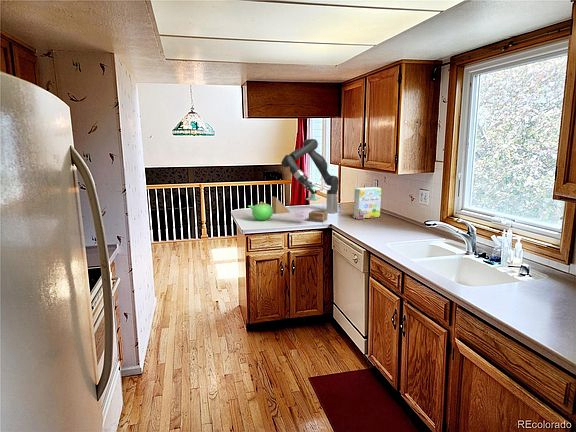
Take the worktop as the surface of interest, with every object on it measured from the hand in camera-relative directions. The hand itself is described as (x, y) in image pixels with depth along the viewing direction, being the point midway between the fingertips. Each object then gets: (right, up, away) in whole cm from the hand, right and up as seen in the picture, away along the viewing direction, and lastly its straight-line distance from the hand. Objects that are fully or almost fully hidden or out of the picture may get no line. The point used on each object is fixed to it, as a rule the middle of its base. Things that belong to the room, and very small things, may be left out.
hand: (315, 193), depth 305 cm
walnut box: (+4, -21, +21) cm, 30 cm away
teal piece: (-2, -5, +2) cm, 5 cm away
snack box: (+45, -20, +29) cm, 57 cm away
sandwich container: (-27, -14, +55) cm, 63 cm away
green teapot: (-42, -21, +24) cm, 53 cm away
